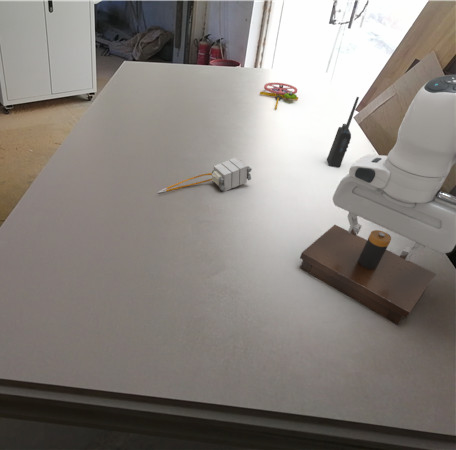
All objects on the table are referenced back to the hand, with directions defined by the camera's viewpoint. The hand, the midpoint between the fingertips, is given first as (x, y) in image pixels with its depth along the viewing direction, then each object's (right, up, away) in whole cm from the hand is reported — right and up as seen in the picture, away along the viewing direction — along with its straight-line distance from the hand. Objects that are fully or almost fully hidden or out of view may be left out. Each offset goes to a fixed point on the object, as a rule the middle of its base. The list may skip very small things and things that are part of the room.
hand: (378, 244), depth 74 cm
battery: (-1, -4, +2) cm, 4 cm away
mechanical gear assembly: (+8, +54, +87) cm, 103 cm away
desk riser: (-1, -7, +5) cm, 8 cm away
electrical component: (-29, +12, +28) cm, 42 cm away
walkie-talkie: (+11, +21, +44) cm, 50 cm away
